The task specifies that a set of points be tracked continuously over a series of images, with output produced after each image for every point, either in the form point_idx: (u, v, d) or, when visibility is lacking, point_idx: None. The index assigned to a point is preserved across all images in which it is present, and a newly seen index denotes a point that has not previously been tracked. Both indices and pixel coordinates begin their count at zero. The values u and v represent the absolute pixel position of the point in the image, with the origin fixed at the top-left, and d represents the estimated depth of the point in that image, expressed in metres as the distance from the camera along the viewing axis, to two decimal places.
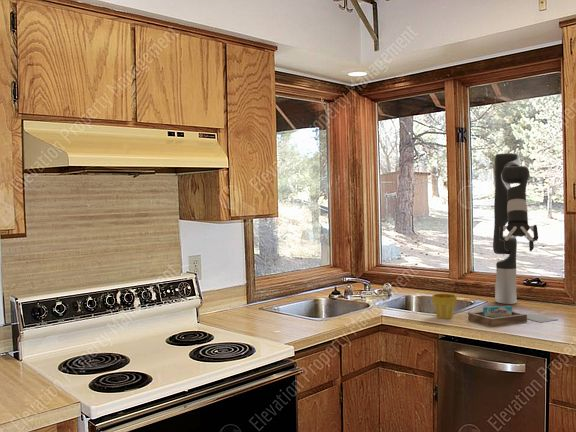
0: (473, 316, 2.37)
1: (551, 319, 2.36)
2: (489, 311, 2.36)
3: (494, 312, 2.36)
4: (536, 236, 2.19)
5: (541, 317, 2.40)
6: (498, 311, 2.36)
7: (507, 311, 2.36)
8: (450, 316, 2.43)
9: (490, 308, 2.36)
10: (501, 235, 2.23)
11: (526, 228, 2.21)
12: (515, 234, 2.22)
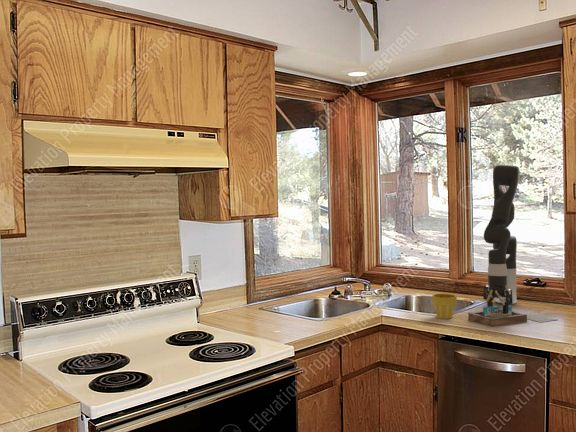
0: (473, 316, 2.37)
1: (551, 319, 2.36)
2: (489, 311, 2.36)
3: (494, 312, 2.36)
4: (507, 301, 2.30)
5: (541, 317, 2.40)
6: (498, 311, 2.36)
7: None
8: (450, 316, 2.43)
9: (490, 308, 2.36)
10: (484, 296, 2.42)
11: (500, 292, 2.33)
12: (493, 296, 2.37)
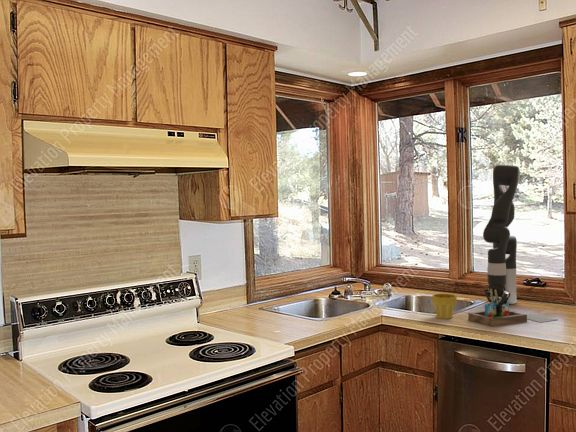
0: (473, 316, 2.37)
1: (551, 319, 2.36)
2: (491, 308, 2.35)
3: (495, 309, 2.36)
4: (500, 302, 2.33)
5: (541, 317, 2.40)
6: None
7: (505, 307, 2.38)
8: (450, 316, 2.43)
9: (492, 305, 2.35)
10: (488, 298, 2.40)
11: (500, 291, 2.33)
12: (493, 295, 2.37)
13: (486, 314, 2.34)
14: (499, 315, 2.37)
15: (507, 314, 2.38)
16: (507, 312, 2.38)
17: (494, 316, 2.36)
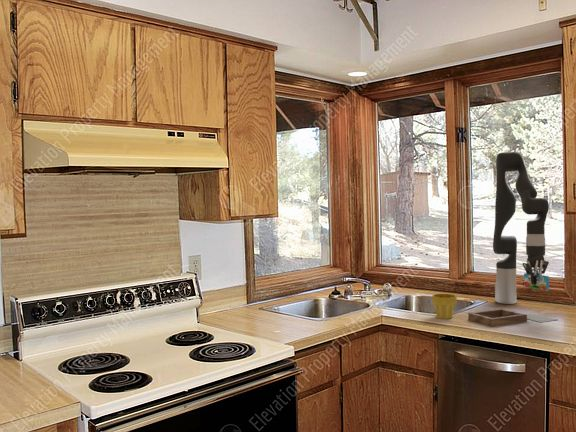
0: (473, 316, 2.37)
1: (551, 319, 2.36)
2: None
3: None
4: (543, 271, 2.40)
5: (541, 317, 2.40)
6: None
7: None
8: (450, 316, 2.43)
9: None
10: (531, 271, 2.37)
11: (542, 260, 2.40)
12: None
13: (548, 286, 2.34)
14: None
15: None
16: None
17: None
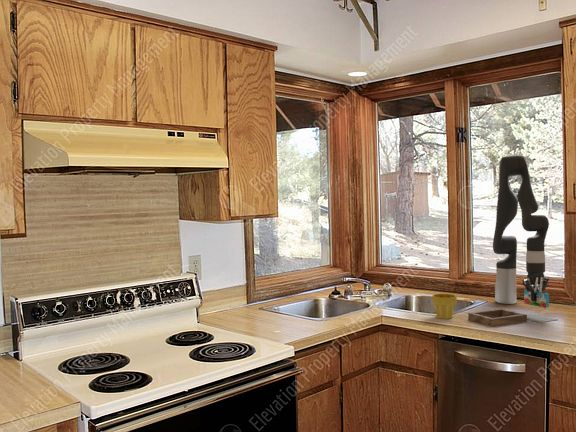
0: (473, 316, 2.37)
1: (551, 319, 2.36)
2: None
3: None
4: (543, 288, 2.40)
5: (541, 317, 2.40)
6: None
7: None
8: (450, 316, 2.43)
9: None
10: (531, 288, 2.37)
11: (542, 277, 2.40)
12: None
13: (548, 303, 2.34)
14: None
15: None
16: None
17: None
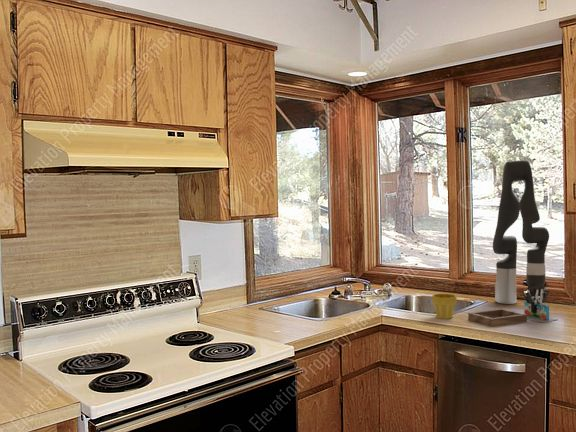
0: (473, 316, 2.37)
1: (551, 319, 2.36)
2: None
3: None
4: (543, 300, 2.40)
5: None
6: None
7: None
8: (450, 316, 2.43)
9: None
10: (531, 300, 2.37)
11: (543, 289, 2.40)
12: None
13: (548, 315, 2.35)
14: None
15: None
16: None
17: None
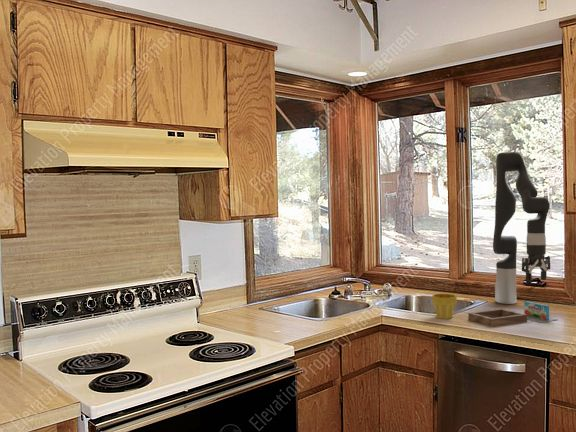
0: (473, 316, 2.37)
1: (551, 319, 2.36)
2: None
3: None
4: (549, 267, 2.41)
5: None
6: None
7: None
8: (450, 316, 2.43)
9: None
10: (527, 268, 2.36)
11: (543, 259, 2.40)
12: (535, 266, 2.38)
13: (548, 315, 2.35)
14: None
15: None
16: None
17: None
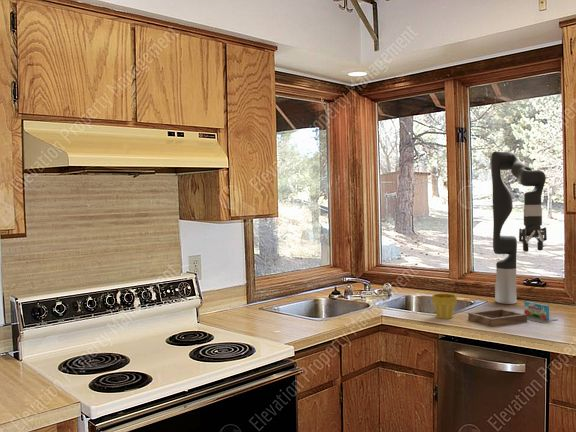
0: (473, 316, 2.37)
1: (551, 319, 2.36)
2: None
3: None
4: (545, 238, 2.51)
5: None
6: None
7: None
8: (450, 316, 2.43)
9: None
10: (524, 238, 2.45)
11: (539, 231, 2.49)
12: (532, 236, 2.48)
13: (548, 315, 2.35)
14: None
15: None
16: None
17: None
